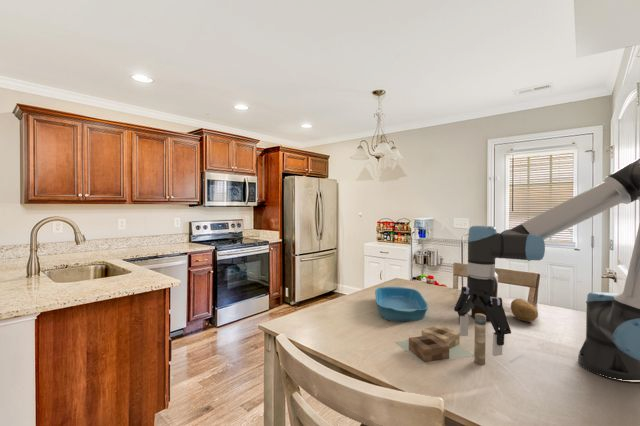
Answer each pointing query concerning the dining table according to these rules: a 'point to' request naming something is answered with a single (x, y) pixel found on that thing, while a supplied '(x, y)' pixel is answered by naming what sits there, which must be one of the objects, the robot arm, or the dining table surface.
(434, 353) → the brown square wooden frame
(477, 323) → the banded wooden cylinder
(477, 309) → the olive oil
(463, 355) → the pale green flat mat
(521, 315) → the potato
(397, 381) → the dining table surface
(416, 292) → the casserole dish
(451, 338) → the light wooden square frame
